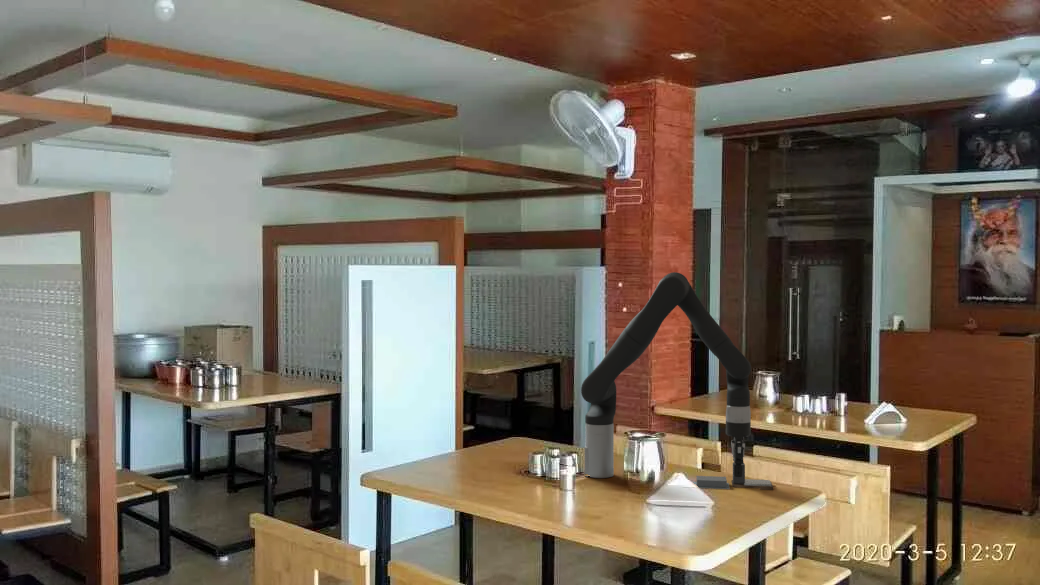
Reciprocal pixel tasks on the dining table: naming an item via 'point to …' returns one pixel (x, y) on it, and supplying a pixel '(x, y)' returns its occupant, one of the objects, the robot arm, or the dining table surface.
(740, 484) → the rest board
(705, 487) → the mat
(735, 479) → the turner
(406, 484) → the dining table surface
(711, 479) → the tile
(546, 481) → the dining table surface
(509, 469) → the dining table surface
